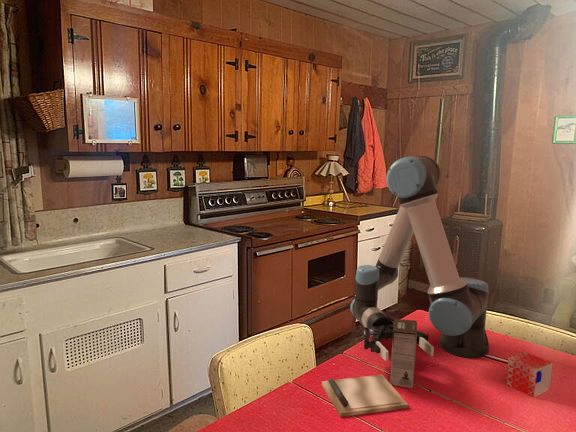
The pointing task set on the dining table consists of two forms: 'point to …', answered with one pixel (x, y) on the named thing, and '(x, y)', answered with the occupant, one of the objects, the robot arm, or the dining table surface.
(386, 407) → the writing board
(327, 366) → the dining table surface
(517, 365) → the red patterned cube
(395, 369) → the coffee box
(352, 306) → the robot arm
